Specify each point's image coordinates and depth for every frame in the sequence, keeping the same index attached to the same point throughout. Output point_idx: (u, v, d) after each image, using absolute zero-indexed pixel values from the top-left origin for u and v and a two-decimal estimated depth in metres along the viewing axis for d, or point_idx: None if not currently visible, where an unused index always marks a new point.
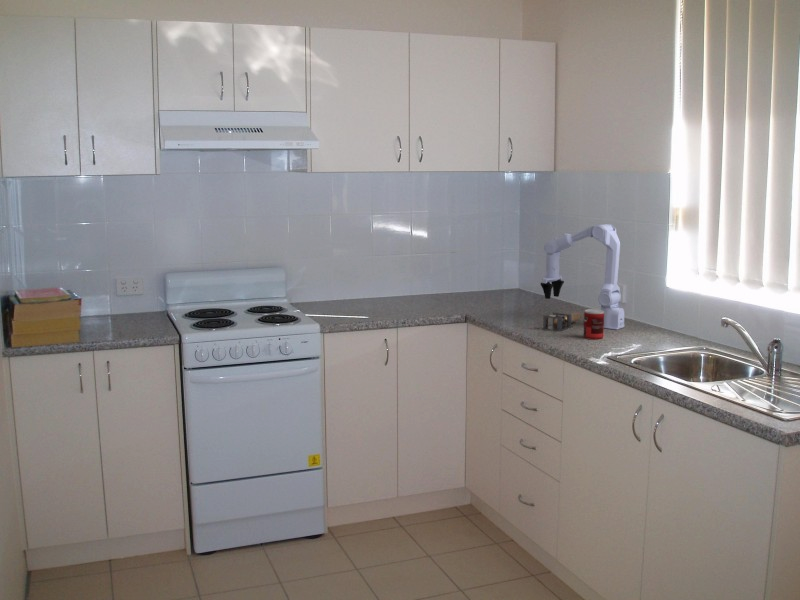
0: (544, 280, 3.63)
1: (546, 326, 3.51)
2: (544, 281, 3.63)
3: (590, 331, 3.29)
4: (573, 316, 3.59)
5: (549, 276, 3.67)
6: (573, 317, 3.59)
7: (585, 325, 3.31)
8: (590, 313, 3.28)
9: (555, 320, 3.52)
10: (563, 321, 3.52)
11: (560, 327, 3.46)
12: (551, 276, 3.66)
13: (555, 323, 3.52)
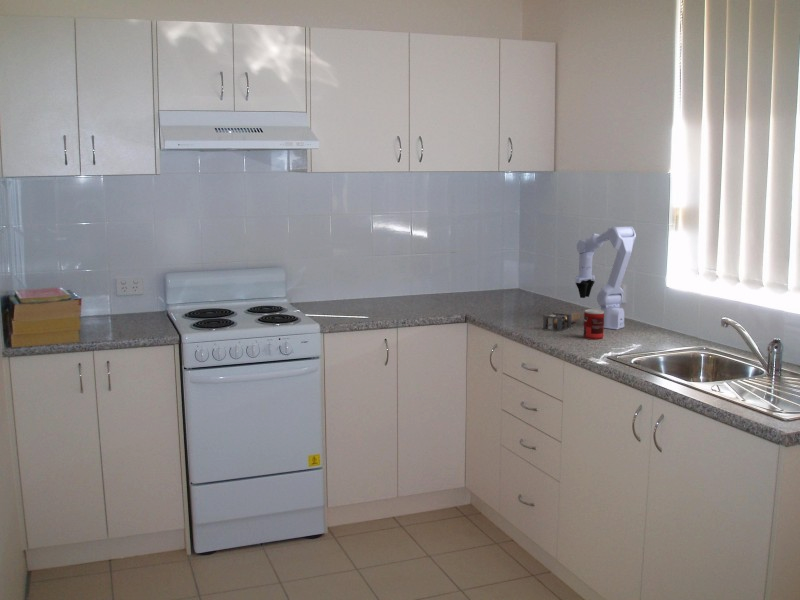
0: (577, 280, 3.62)
1: (546, 326, 3.51)
2: (577, 281, 3.62)
3: (590, 331, 3.29)
4: (573, 316, 3.59)
5: (582, 276, 3.65)
6: (573, 317, 3.59)
7: (585, 325, 3.31)
8: (590, 313, 3.28)
9: (555, 320, 3.52)
10: (563, 321, 3.52)
11: (560, 327, 3.46)
12: (584, 276, 3.64)
13: (555, 323, 3.52)
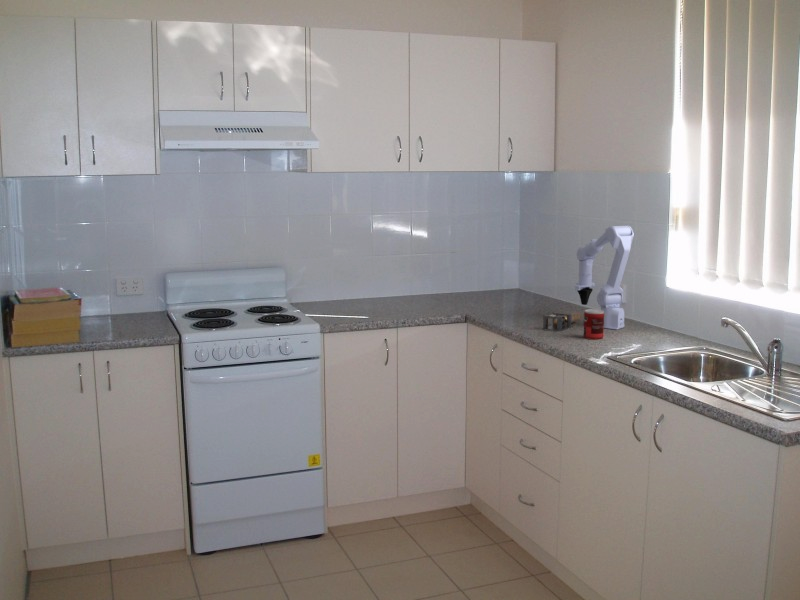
0: (577, 287, 3.62)
1: (546, 326, 3.51)
2: (577, 288, 3.62)
3: (590, 331, 3.29)
4: (573, 316, 3.59)
5: (582, 283, 3.65)
6: (573, 317, 3.59)
7: (585, 325, 3.31)
8: (590, 313, 3.28)
9: (555, 320, 3.52)
10: (563, 321, 3.52)
11: (560, 327, 3.46)
12: (584, 283, 3.65)
13: (555, 323, 3.52)
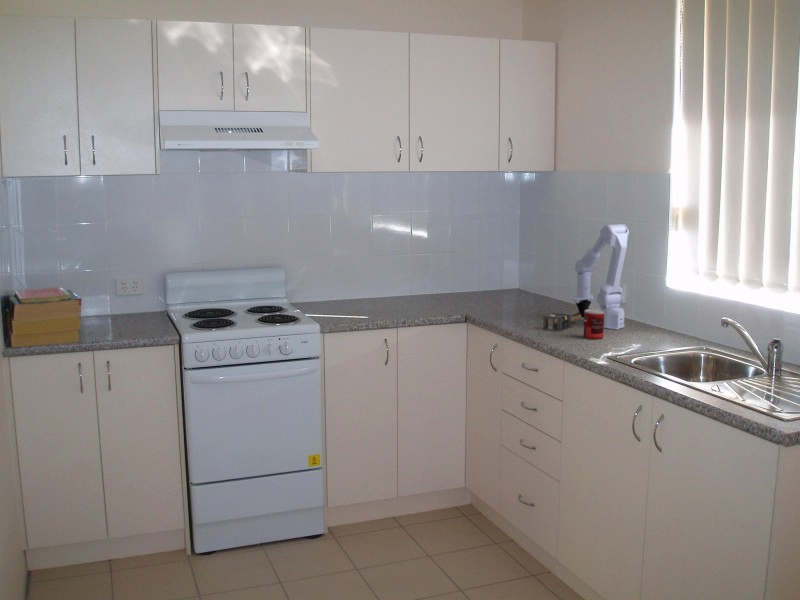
0: (575, 300, 3.62)
1: (546, 326, 3.51)
2: (575, 301, 3.62)
3: (590, 331, 3.29)
4: (573, 316, 3.59)
5: (580, 296, 3.65)
6: (573, 317, 3.59)
7: (585, 325, 3.31)
8: (590, 313, 3.28)
9: (555, 320, 3.52)
10: (563, 321, 3.52)
11: (560, 327, 3.46)
12: (582, 296, 3.65)
13: (555, 323, 3.52)
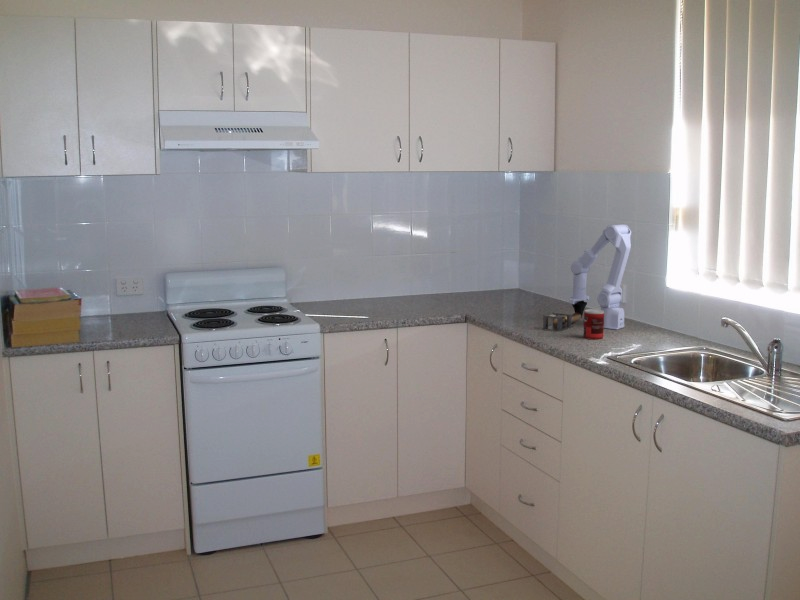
0: (571, 301, 3.59)
1: (546, 326, 3.51)
2: (571, 302, 3.59)
3: (590, 331, 3.29)
4: (573, 316, 3.59)
5: (576, 297, 3.63)
6: (573, 317, 3.59)
7: (585, 325, 3.31)
8: (590, 313, 3.28)
9: (555, 320, 3.52)
10: (563, 321, 3.52)
11: (560, 327, 3.46)
12: (578, 297, 3.62)
13: (555, 323, 3.52)
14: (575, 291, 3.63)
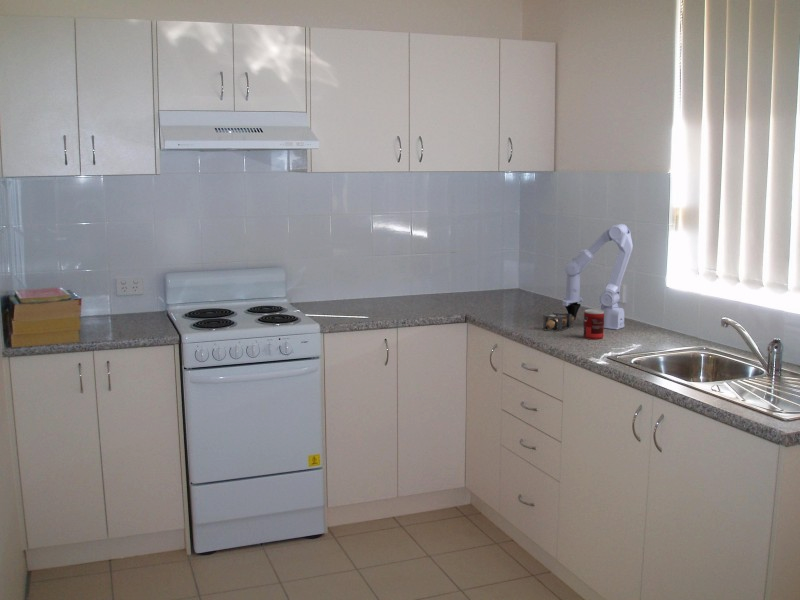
0: (565, 303, 3.55)
1: (546, 326, 3.51)
2: (565, 304, 3.55)
3: (590, 331, 3.29)
4: (566, 318, 3.55)
5: (569, 298, 3.58)
6: (566, 319, 3.54)
7: (585, 325, 3.31)
8: (590, 313, 3.28)
9: (547, 322, 3.48)
10: (556, 323, 3.47)
11: (560, 327, 3.46)
12: (572, 298, 3.58)
13: (547, 325, 3.48)
14: (568, 293, 3.58)
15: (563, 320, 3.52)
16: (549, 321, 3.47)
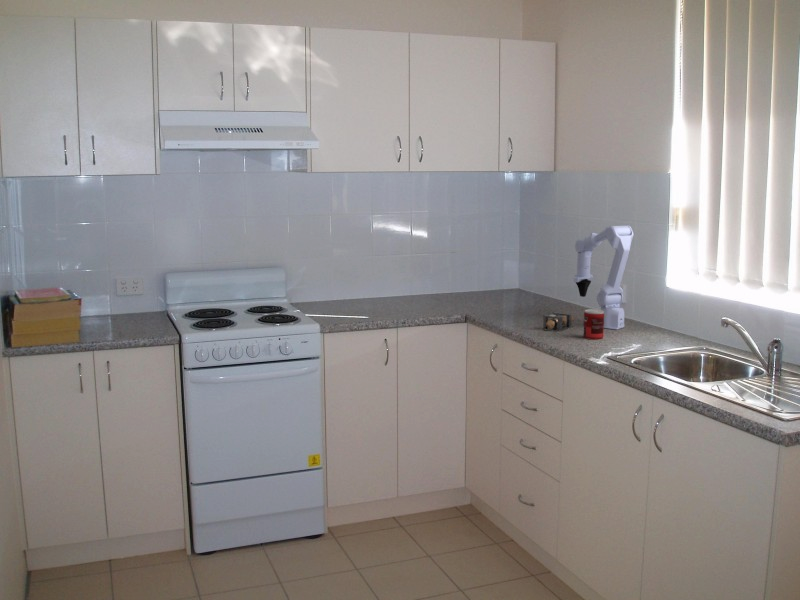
0: (576, 279, 3.63)
1: (546, 326, 3.51)
2: (576, 280, 3.63)
3: (590, 331, 3.29)
4: (566, 318, 3.54)
5: (580, 275, 3.66)
6: (566, 319, 3.54)
7: (585, 325, 3.31)
8: (590, 313, 3.28)
9: (547, 322, 3.47)
10: (555, 323, 3.47)
11: (560, 327, 3.46)
12: (582, 275, 3.66)
13: (547, 325, 3.48)
14: (579, 269, 3.66)
15: (563, 320, 3.52)
16: (549, 321, 3.47)
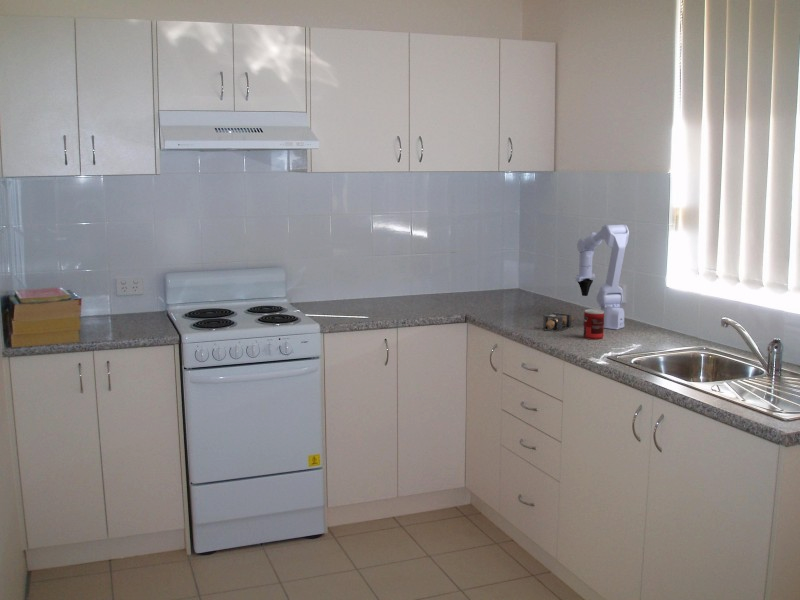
0: (578, 278, 3.66)
1: (546, 326, 3.51)
2: (578, 279, 3.66)
3: (590, 331, 3.29)
4: (566, 318, 3.54)
5: (582, 274, 3.69)
6: (566, 319, 3.54)
7: (585, 325, 3.31)
8: (590, 313, 3.28)
9: (547, 322, 3.47)
10: (555, 323, 3.47)
11: (560, 327, 3.46)
12: (584, 274, 3.69)
13: (547, 325, 3.48)
14: (581, 269, 3.69)
15: (563, 320, 3.52)
16: (549, 321, 3.47)
